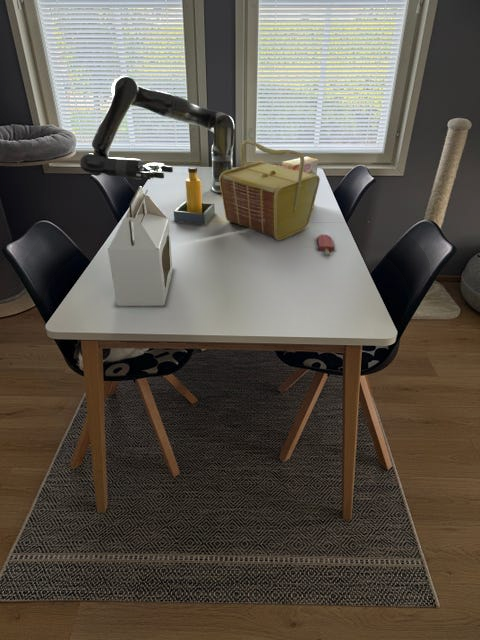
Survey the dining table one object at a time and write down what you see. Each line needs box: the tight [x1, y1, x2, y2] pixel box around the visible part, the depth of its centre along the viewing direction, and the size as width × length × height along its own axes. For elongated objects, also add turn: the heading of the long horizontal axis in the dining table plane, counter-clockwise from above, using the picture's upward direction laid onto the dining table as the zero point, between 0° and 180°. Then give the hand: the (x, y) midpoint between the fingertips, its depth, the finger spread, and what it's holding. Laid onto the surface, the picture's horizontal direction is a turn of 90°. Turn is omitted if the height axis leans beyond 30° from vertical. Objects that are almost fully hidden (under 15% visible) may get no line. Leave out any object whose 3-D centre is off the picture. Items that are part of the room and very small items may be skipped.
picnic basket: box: [219, 140, 321, 241], centre depth 167 cm, size 29×26×30 cm
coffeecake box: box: [281, 156, 319, 175], centre depth 188 cm, size 15×7×20 cm, turn 131°
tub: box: [173, 200, 216, 225], centre depth 180 cm, size 13×13×5 cm
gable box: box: [107, 185, 173, 307], centre depth 127 cm, size 22×13×28 cm, turn 1°
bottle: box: [185, 166, 203, 214], centre depth 175 cm, size 6×6×20 cm
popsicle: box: [316, 234, 335, 255], centre depth 160 cm, size 5×2×15 cm
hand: (168, 172), depth 174 cm, fingers open, 8 cm apart
